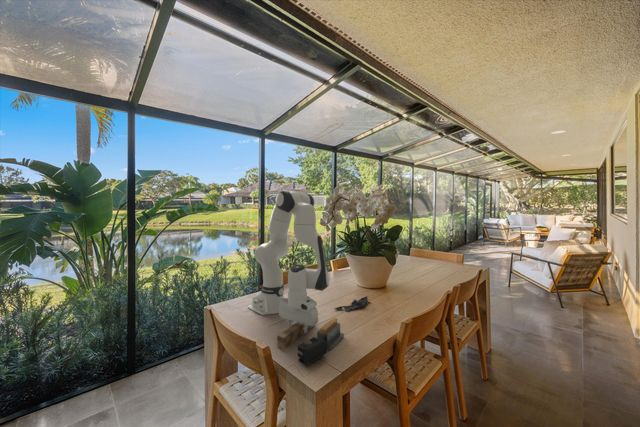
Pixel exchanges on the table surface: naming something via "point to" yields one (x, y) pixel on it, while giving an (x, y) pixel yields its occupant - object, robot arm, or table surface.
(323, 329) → the fulcrum stand
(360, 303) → the decorative bat
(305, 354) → the end cap
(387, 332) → the table surface
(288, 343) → the walnut beam
